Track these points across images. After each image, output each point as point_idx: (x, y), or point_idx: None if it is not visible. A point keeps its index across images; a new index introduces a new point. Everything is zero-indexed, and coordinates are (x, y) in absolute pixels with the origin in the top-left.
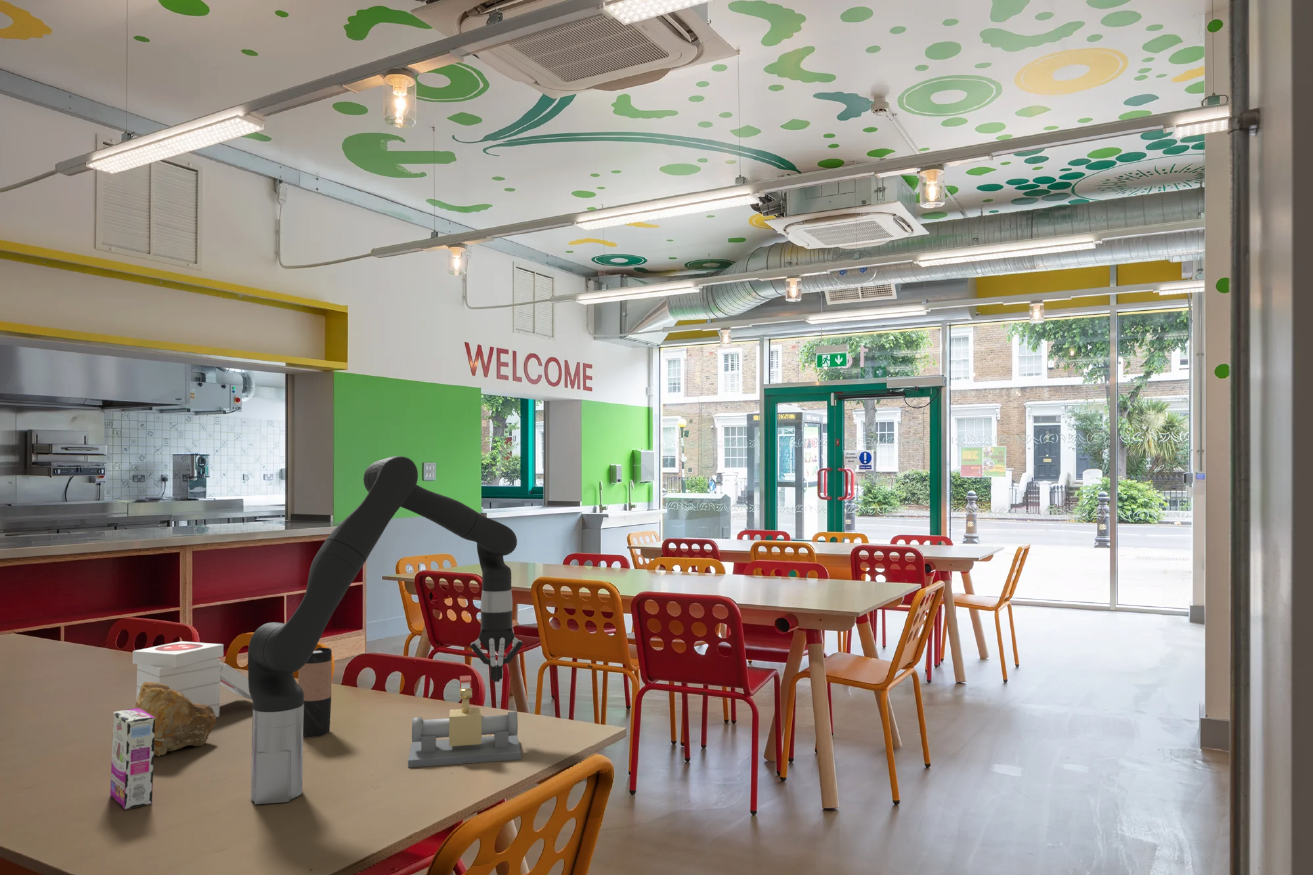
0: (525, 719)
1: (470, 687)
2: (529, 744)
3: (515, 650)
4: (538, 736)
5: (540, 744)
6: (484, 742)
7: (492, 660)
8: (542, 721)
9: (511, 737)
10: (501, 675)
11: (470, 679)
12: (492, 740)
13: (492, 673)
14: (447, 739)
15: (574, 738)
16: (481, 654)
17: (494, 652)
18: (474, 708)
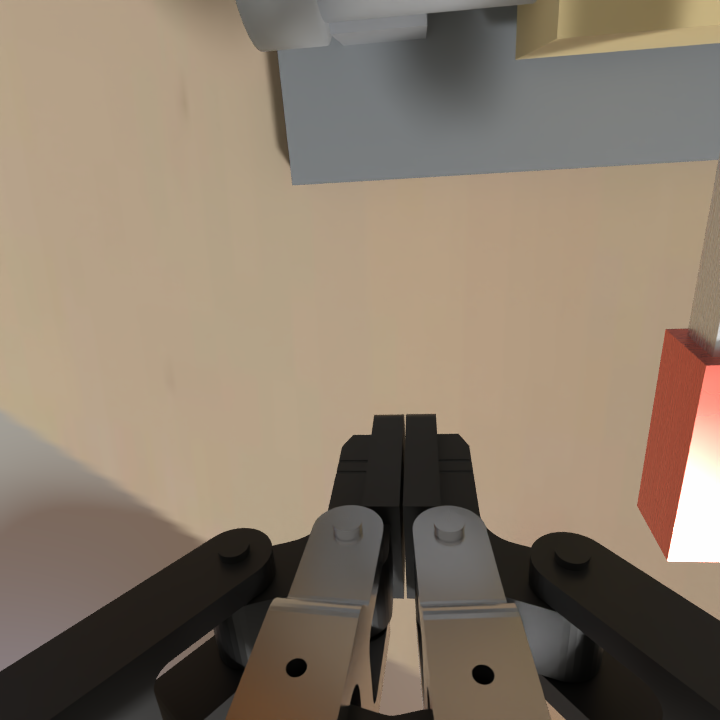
0: (280, 526)
1: (677, 331)
2: (228, 104)
3: (40, 680)
4: (195, 251)
5: (168, 93)
6: (487, 41)
7: (463, 568)
8: (202, 484)
9: (322, 129)
10: (351, 454)
11: (707, 396)
12: (436, 81)
13: (450, 470)
14: (712, 153)
15: (7, 180)
16: (691, 666)
17: (437, 660)
18: (623, 17)
